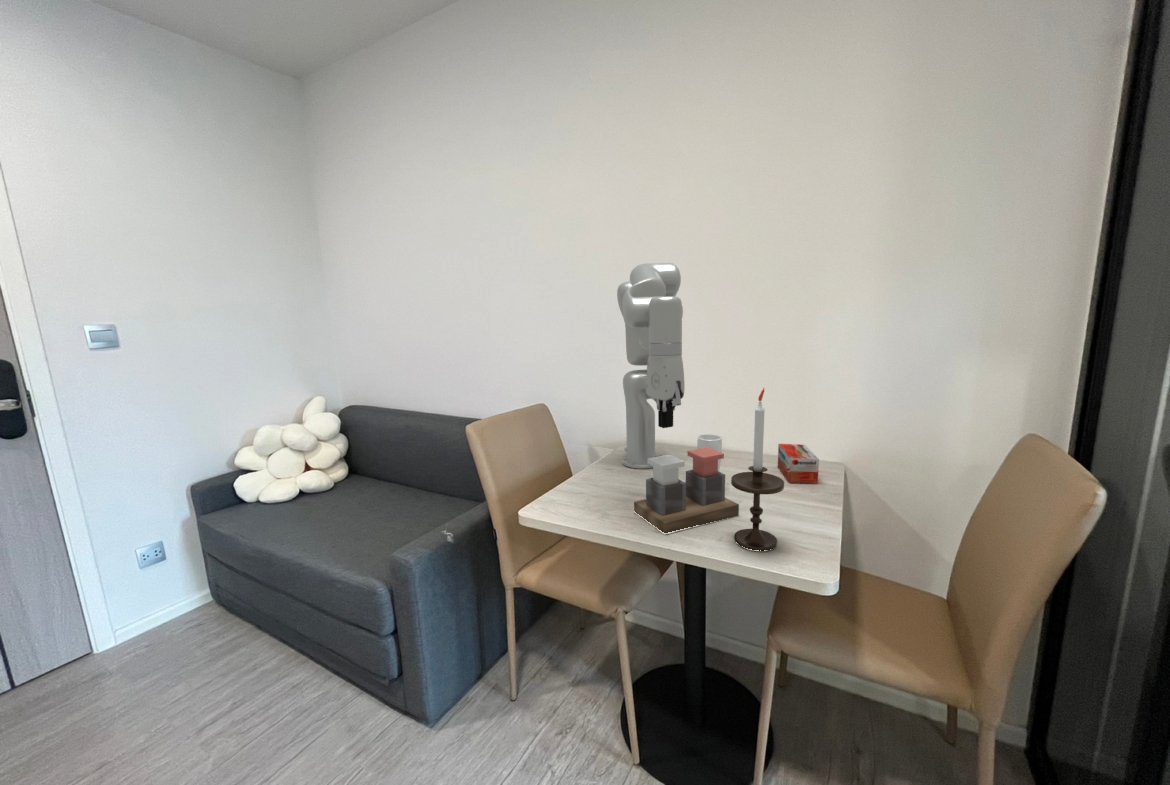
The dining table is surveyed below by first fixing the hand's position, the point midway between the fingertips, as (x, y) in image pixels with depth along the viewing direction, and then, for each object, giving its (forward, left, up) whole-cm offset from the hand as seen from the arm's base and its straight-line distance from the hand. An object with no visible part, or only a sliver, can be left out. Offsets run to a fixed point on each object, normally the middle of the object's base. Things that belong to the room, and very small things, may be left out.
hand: (665, 426), depth 116 cm
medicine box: (-7, +52, -24) cm, 58 cm away
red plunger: (0, +12, -17) cm, 21 cm away
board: (0, +6, -24) cm, 25 cm away
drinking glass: (-12, +23, -24) cm, 36 cm away
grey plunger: (0, 0, -17) cm, 17 cm away
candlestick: (+19, +11, -24) cm, 32 cm away
